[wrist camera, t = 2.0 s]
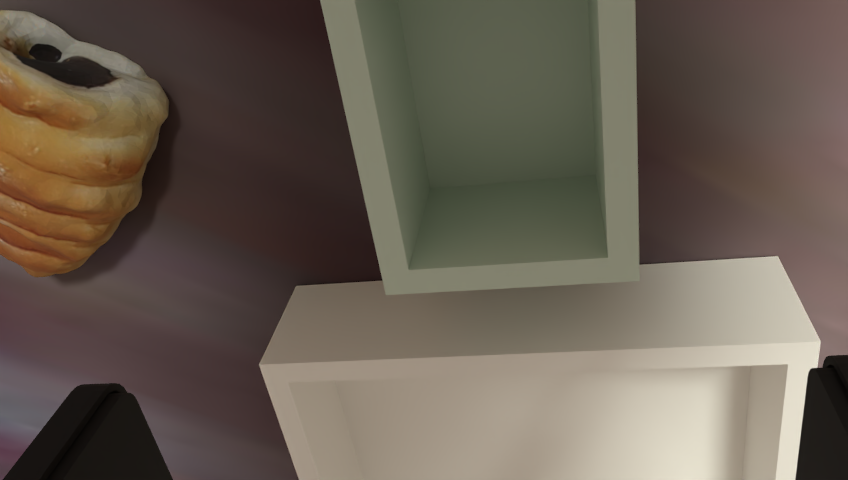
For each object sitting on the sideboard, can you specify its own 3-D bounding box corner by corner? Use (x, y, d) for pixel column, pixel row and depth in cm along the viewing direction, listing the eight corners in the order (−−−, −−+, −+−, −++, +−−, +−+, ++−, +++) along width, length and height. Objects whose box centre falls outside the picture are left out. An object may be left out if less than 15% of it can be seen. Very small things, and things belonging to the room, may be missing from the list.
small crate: (361, -72, 22) (313, -31, 17) (612, -110, 20) (634, -77, 16) (413, 203, 26) (385, 295, 21) (620, 186, 25) (639, 281, 20)
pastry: (127, 280, 30) (76, 341, 26) (-40, 206, 29) (-113, 259, 26) (189, 76, 25) (136, 120, 22) (-9, -20, 24) (-94, 11, 21)
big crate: (296, 285, 28) (258, 364, 25) (777, 256, 25) (820, 341, 21) (372, 544, 36) (352, 634, 32) (750, 546, 33) (779, 647, 29)
